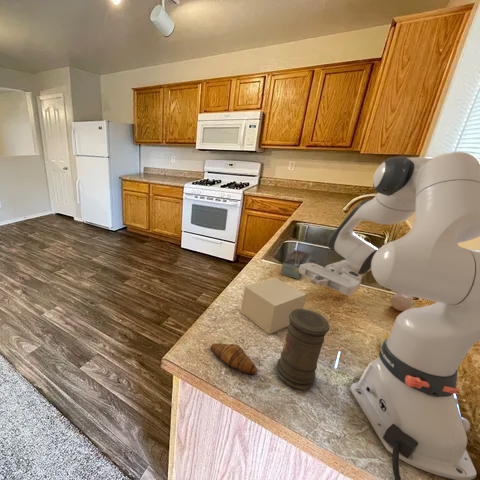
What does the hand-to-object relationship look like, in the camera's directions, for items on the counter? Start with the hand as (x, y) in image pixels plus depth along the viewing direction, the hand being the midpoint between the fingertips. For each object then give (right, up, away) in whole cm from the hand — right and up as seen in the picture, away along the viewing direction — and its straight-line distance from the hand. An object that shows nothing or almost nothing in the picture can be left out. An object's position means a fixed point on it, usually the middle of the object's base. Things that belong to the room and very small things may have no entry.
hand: (313, 282), depth 97 cm
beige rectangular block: (-19, -11, -6) cm, 22 cm away
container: (-22, -20, -29) cm, 41 cm away
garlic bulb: (+31, -10, -1) cm, 32 cm away
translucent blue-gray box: (+7, +1, +27) cm, 28 cm away
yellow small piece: (+13, -17, -20) cm, 29 cm away
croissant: (-37, -18, -25) cm, 48 cm away
